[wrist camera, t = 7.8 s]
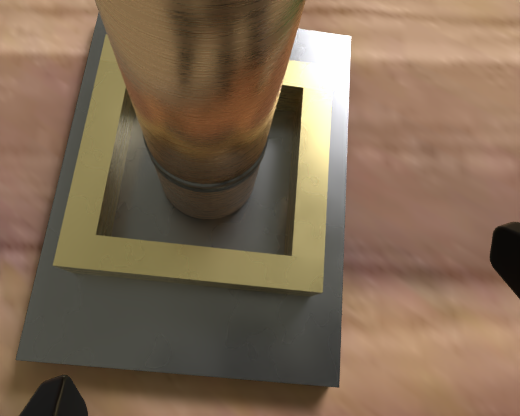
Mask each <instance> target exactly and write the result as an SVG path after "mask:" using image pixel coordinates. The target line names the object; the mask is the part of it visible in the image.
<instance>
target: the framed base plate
mask: <svg viewBox="0 0 520 416" xmlns="http://www.w3.org/2000/svg"><path fill="white" fill-rule="evenodd" d="M350 51H351V36H345V35H338V34H331V33H324V32H317V31H311V30H304V29H298V30H297V33H296V37H295V40H294V44H293V48H292V51H291V55H290V58H289V62H288V66H287V69H286V73H285V76H284V80H283V84H282V87H281V91H280V94H279V98H278V102H277V105H276V109H275V112H274V116H273V120H272V123H271V127H270V130H269V139H268V143H267V147H266V150H265V154H264V156H263V159H262V161H261V163H260V166H259V170H258V174H257V177H256V181H255V184H254V188H253V191H252V193H251V195H250V197H249V198H248V200H247V201H246V202H245V204H244V205H243V206H242V207H241V208H239V209H238V210H237V211H235V212H233V213H232V214H230V215H227V216H225V217H222V218H218V219H199V218H195V217H191V216H189V215H186V214H185V213H183V212H181V211H180V210H178V209H177V208H176V207H175V206H174V205H173V204H172V203H171V202H170V201H169V200H168V198H167V197H166V195H165V193H164V191H163V188H162V185H161V183H160V180H159V177H158V174H157V171H156V169H155V166H154V164H153V162H152V161H151V159H150V156H149V154H148V151H147V148H146V146H145V143H144V139H143V133H142V130H141V127H140V124H139V122H138V119H137V116H136V113H135V110H134V108H133V105H132V102H131V99H130V97H129V94H128V91H127V88H126V85H125V83H124V80H123V77H122V74H121V72H120V69H119V66H118V63H117V60H116V58H115V55H114V52H113V49H112V47H111V44H110V41H109V38H108V35H107V33H106V30H105V27H104V24H103V22H102V19H101V16H100V13H98V18H97V22H96V26H95V30H94V34H93V38H92V43H91V47H90V51H89V55H88V59H87V64H86V68H85V72H84V76H83V80H82V84H81V89H80V93H79V97H78V101H77V105H76V110H75V114H74V118H73V122H72V126H71V130H70V135H69V139H68V143H67V147H66V151H65V156H64V160H63V164H62V168H61V172H60V176H59V181H58V185H57V189H56V193H55V197H54V201H53V206H52V210H51V214H50V218H49V222H48V227H47V231H46V235H45V239H44V243H43V247H42V252H41V256H40V260H39V264H38V268H37V273H36V277H35V281H34V285H33V289H32V293H31V298H30V302H29V306H28V310H27V314H26V319H25V323H24V327H23V331H22V335H21V339H20V344H19V348H18V352H17V356H16V360H21V361H33V362H45V363H56V364H68V365H80V366H92V367H103V368H115V369H127V370H139V371H151V372H162V373H174V374H186V375H198V376H210V377H221V378H233V379H245V380H257V381H268V382H280V383H292V384H304V385H316V386H327V387H339V378H340V348H341V318H342V289H343V259H344V229H345V199H346V170H347V140H348V110H349V81H350Z"/></svg>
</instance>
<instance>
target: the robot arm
mask: <svg viewBox="0 0 520 416" xmlns="http://www.w3.org/2000/svg"><path fill="white" fill-rule="evenodd" d="M490 262H491V264H492V266H493V268H494V269H495V270H496V272H497V273H498V274H499V275H500V276H501V277H502V279H503V280H504V281H505V282H506V283H507V285H508V286H509V287H510V288H511V289H512V290H513V292H514V293H515V294H516V295H517V296H518V298H519V299H520V223H519V222H510V223H507V224H504V225H501V226H498V227H497V228H495V230H494V232H493V237H492V244H491V251H490ZM19 416H88V411H87V407H86V404H85V402H84V400H83V398H82V396H81V395H80V393H79V391H78V390H77V388H76V386H75V385H74V383H73V381H72V380H71V378H70V377H69V376H68V375H61V376H58V377H55V378H52V379H49V380H47V381H45V382H43V383H42V384H41V385H40V386H39V387H38V389H37V390H36V392H35V393H34V395H33V396H32V398H31V399H30V401H29V402H28V404H27V405H26V406H25V408H24V409H23V411H22V412H21V414H20V415H19Z"/></svg>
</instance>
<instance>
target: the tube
mask: <svg viewBox="0 0 520 416" xmlns="http://www.w3.org/2000/svg"><path fill="white" fill-rule="evenodd" d="M305 1H306V0H95V2H96V5H97V8H98V10H99V13H100V16H101V19H102V22H103V24H104V27H105V30H106V33H107V35H108V38H109V41H110V44H111V47H112V49H113V52H114V55H115V58H116V60H117V63H118V66H119V69H120V72H121V74H122V77H123V80H124V83H125V85H126V88H127V91H128V94H129V97H130V99H131V102H132V105H133V108H134V110H135V113H136V116H137V119H138V122H139V124H140V127H141V130H142V133H143V139H144V143H145V146H146V148H147V151H148V154H149V156H150V159H151V161H152V162H153V164H154V166H155V169H156V171H157V174H158V177H159V180H160V183H161V185H162V188H163V191H164V193H165V195H166V197H167V198H168V200H169V201H170V202H171V203H172V204H173V205H174V206H175V207H176V208H177V209H178V210H180V211H181V212H183V213H185V214H186V215H189V216H191V217H195V218H199V219H218V218H222V217H225V216H227V215H230V214H232V213H233V212H235V211H237V210H238V209H239V208H241V207H242V206H243V205H244V204H245V202H246V201H247V200H248V198H249V197H250V195H251V193H252V191H253V188H254V184H255V181H256V177H257V174H258V170H259V166H260V163H261V161H262V159H263V156H264V154H265V150H266V147H267V143H268V139H269V130H270V127H271V123H272V120H273V116H274V112H275V109H276V105H277V102H278V98H279V94H280V91H281V87H282V84H283V80H284V76H285V73H286V69H287V66H288V62H289V58H290V55H291V51H292V48H293V44H294V40H295V37H296V33H297V30H298V26H299V22H300V19H301V15H302V12H303V8H304V5H305Z"/></svg>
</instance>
